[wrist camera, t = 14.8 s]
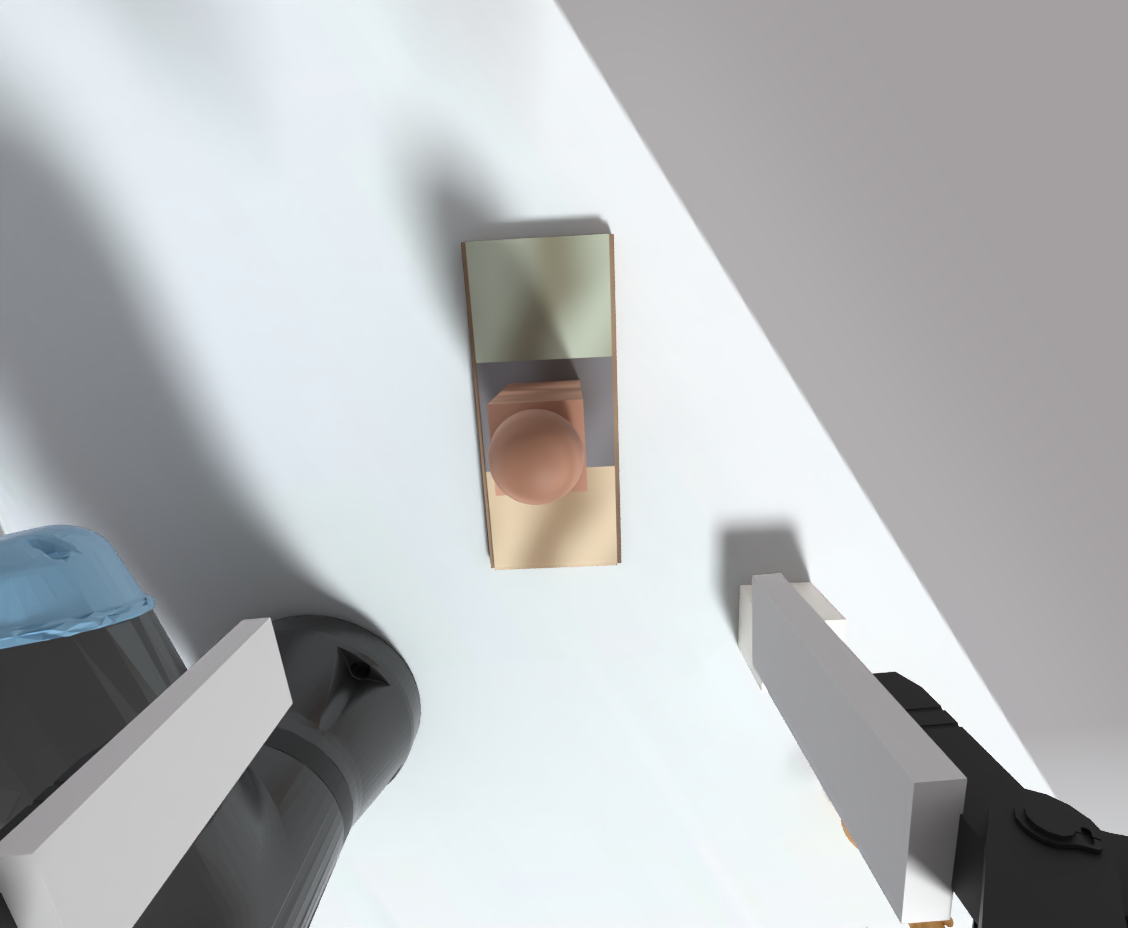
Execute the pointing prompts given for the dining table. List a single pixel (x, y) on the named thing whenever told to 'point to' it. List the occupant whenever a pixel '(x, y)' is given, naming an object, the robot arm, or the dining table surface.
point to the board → (540, 354)
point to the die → (813, 599)
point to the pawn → (537, 441)
